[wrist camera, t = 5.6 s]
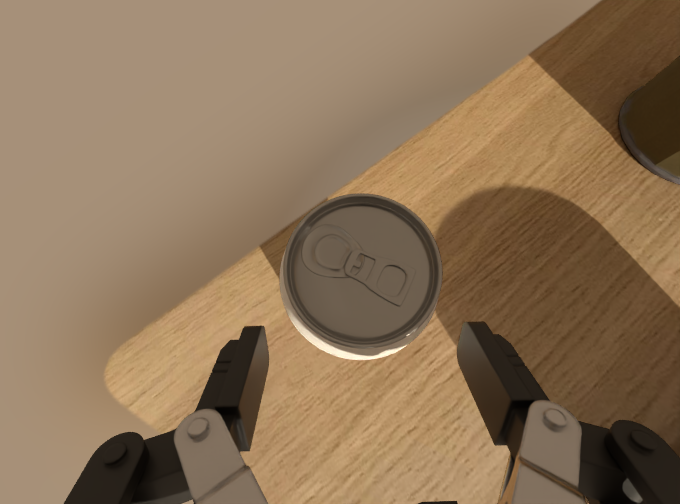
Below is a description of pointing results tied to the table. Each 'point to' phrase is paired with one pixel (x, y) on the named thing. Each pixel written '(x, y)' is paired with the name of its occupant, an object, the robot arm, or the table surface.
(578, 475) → the robot arm
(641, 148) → the canister
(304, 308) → the can
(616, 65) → the table surface
